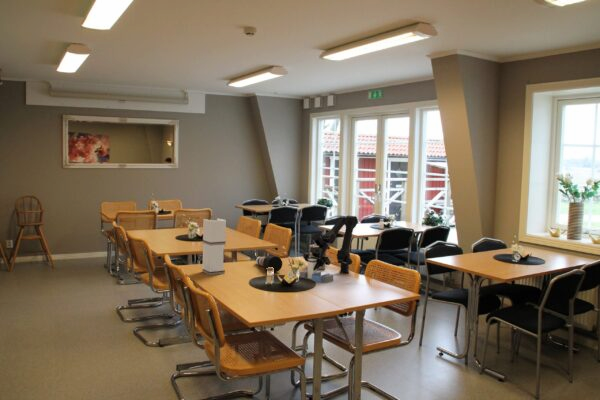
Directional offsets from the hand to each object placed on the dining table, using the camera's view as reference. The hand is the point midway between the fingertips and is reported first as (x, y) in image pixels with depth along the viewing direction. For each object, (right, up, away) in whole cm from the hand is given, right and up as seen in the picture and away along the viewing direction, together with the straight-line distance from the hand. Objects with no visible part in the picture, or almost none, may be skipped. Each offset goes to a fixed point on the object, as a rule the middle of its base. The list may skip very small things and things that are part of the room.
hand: (310, 269), depth 323 cm
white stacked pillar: (-64, -4, +13) cm, 65 cm away
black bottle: (-31, -4, +33) cm, 45 cm away
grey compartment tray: (+3, -7, -1) cm, 8 cm away
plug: (+1, -6, +2) cm, 6 cm away
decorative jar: (+5, -4, +41) cm, 41 cm away
